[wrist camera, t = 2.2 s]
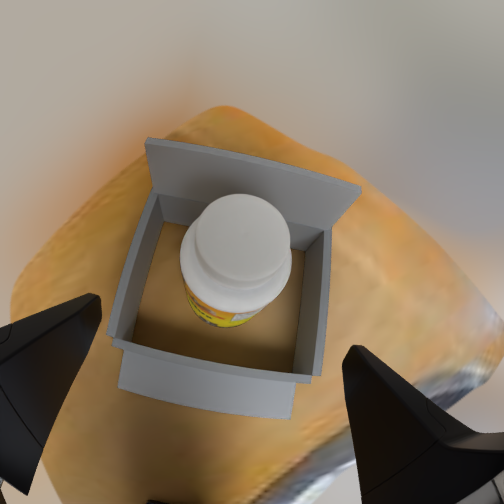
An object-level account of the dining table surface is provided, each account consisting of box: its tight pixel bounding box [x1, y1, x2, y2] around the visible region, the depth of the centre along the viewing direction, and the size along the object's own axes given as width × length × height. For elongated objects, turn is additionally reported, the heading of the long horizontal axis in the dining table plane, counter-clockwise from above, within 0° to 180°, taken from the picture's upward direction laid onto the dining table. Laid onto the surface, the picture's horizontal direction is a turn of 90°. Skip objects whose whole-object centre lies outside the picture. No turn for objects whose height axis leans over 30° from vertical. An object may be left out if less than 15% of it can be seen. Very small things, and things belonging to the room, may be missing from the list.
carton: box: [106, 137, 362, 419], centre depth 16 cm, size 14×13×9 cm
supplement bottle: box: [180, 194, 292, 328], centre depth 16 cm, size 6×6×10 cm
